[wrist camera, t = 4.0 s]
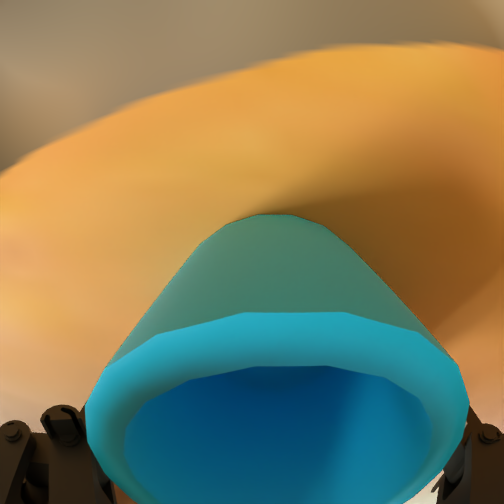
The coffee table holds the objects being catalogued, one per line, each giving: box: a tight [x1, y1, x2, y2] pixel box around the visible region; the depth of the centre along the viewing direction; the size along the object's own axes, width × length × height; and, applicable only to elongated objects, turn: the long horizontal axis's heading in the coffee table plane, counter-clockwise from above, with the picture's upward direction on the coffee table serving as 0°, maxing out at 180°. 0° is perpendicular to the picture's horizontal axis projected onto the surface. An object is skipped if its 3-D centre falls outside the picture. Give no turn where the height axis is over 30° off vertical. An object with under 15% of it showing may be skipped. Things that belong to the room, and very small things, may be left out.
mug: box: [85, 214, 470, 504], centre depth 9 cm, size 12×8×8 cm
